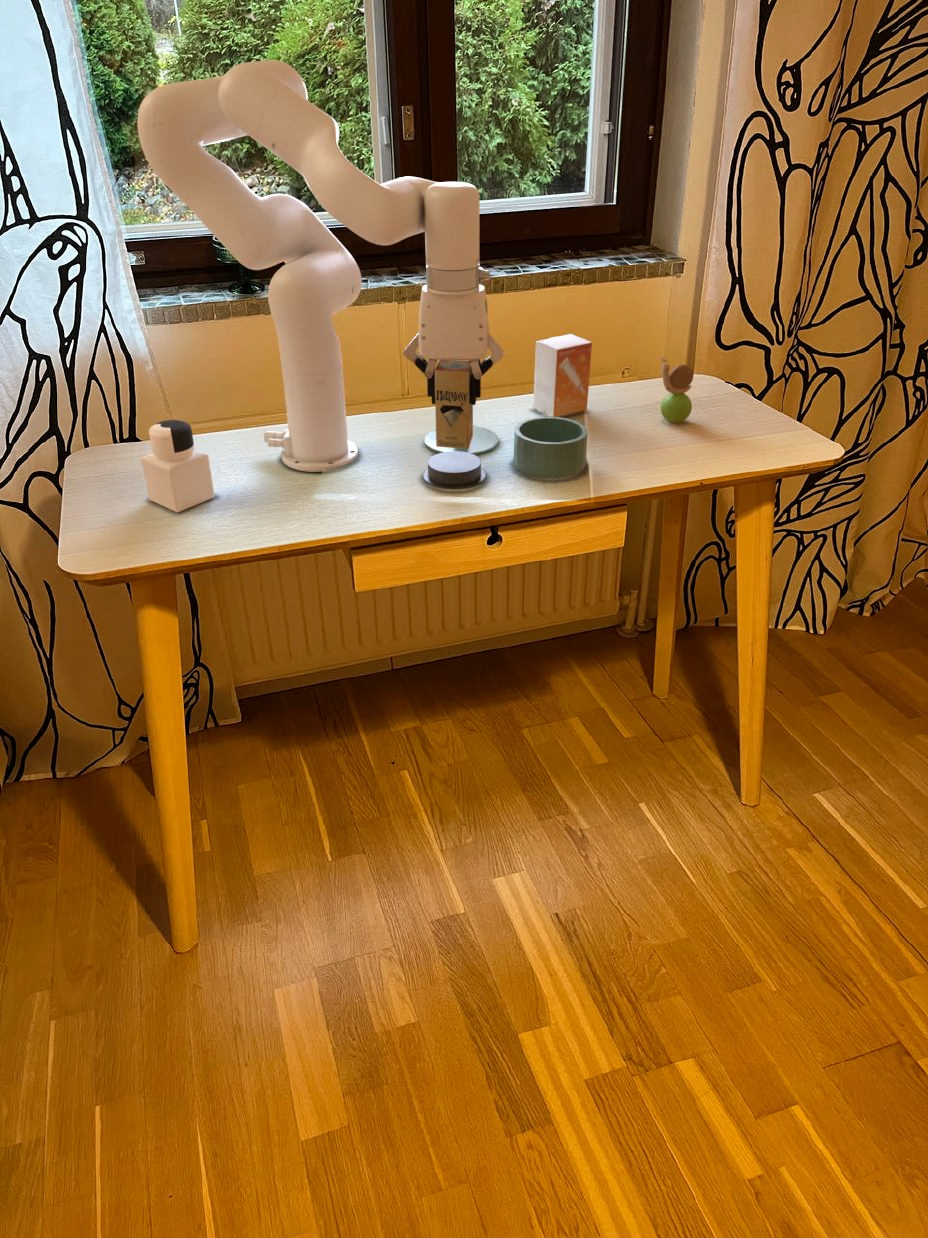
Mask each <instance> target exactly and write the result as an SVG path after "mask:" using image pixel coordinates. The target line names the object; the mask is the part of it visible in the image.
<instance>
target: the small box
mask: <svg viewBox="0 0 928 1238" xmlns="http://www.w3.org/2000/svg"><path fill="white" fill-rule="evenodd" d="M592 347H593V342H592V341H590V340H587V339H585V338H583V337H580V336H578V335H575V334H573V333H569V334H568V333H567V334H564V335H560V336H553V337H549V338H546V339H540V340H536V341H535V358H534V380H533V381H534V382H533V405H532V406H533V407H532V408H533V409H534V410H537V411H539V412H541V413H542V414H545V415H546V416H547V417H562V416H566V415H569V414H574V413H578V412H581V411H583V413H587V411H588V401H589V387H590V385H589V384H590V375H591V364H592V363H591V362H592Z"/></svg>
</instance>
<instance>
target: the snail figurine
mask: <svg viewBox="0 0 928 1238" xmlns="http://www.w3.org/2000/svg"><path fill="white" fill-rule="evenodd" d="M661 360H662V361H663V364H662V365H661V371H662V382H663V386H664V388H665V390H666V391H667V392H668V394H666V395H665V396H664V397H663V398H662V400H661V403H660V413H661V415H662V417H663V418H664V419H665V420H666V421H667V422H669V423H674V424H677V423H682V422H684V421H685V420H687V418H689V417H690V415H691V412H692V409H693V404H692V401H691V398H690V397H689V396H688V395H687V394H686V393H687V392H688V391H690V389H691V388H692V385H691V384H692V382H693V380H694V370H693V368H692V367H691V366H689V365H687V364H679V365H676V366H674V368H673V369H672V370H671V369H670V368H671V367H670V365H669V364H668V363H666V362H667V361H668V358H666V357H664V356H662V358H661ZM670 370H671V371H670Z"/></svg>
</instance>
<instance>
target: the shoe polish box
mask: <svg viewBox="0 0 928 1238" xmlns="http://www.w3.org/2000/svg"><path fill="white" fill-rule="evenodd" d="M472 373H473V372H472V369H471V366H470V362H469V360H441V359H439V361H438V363H437V364H436V366H435V404H434V405H435V429H436V447H449V448H469V445H470V443H471V440H472V437H473V426H474V405H472V404H471V387H470V381H471V375H472Z"/></svg>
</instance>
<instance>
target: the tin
mask: <svg viewBox="0 0 928 1238" xmlns="http://www.w3.org/2000/svg"><path fill="white" fill-rule="evenodd" d="M513 435H514V437H513V438H514V439H513V466H514V468H515V469H516V470H517V471H519V472H520V473H522V474H524V475H528V476H530V477H535V478H540V479H562V478H563V479H564V478H569V477H573V476H575V475H578V474H579V473H581V472H583V471H584V469H585V468H586V463H587V462H586V461H587V448H588V428H587V427H586V426H585V424H583V423H581V422H580V421H578V420H575V419H570V418H568V417H567V418H566V417H561V416H559V417H550V416H538V417H531V418H527V419H525V420H522V421H520V422H518V423H517V424H516V425H515V426H514V433H513Z"/></svg>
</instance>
